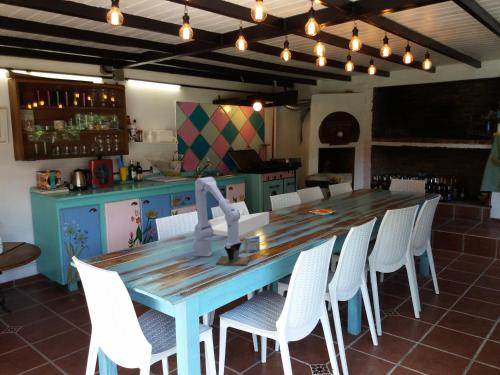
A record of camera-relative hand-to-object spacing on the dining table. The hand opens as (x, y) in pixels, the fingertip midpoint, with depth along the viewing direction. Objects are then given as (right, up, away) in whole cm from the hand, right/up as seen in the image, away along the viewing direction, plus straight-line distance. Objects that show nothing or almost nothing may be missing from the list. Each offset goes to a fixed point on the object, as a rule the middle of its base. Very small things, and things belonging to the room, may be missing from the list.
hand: (233, 257), depth 215 cm
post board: (0, -2, 0) cm, 2 cm away
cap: (0, -1, 0) cm, 1 cm away
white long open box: (+2, +8, +74) cm, 75 cm away
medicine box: (+10, 0, +19) cm, 21 cm away
